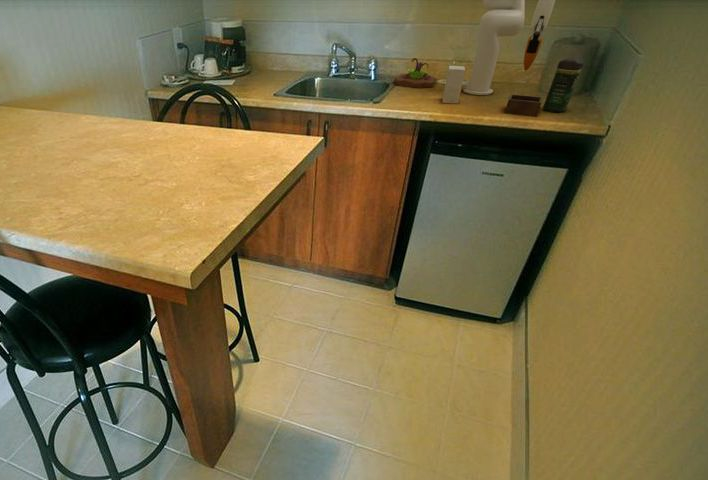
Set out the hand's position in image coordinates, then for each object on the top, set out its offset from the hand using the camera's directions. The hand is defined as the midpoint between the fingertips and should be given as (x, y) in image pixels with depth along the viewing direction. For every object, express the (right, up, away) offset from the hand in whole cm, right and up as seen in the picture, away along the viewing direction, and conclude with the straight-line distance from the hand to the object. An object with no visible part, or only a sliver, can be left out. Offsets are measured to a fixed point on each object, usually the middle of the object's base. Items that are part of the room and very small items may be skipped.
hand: (531, 51), depth 149 cm
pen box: (+2, -18, +11) cm, 21 cm away
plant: (-28, +14, +53) cm, 62 cm away
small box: (-21, -7, +25) cm, 33 cm away
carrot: (0, -5, +4) cm, 7 cm away
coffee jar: (+17, -16, +13) cm, 27 cm away
